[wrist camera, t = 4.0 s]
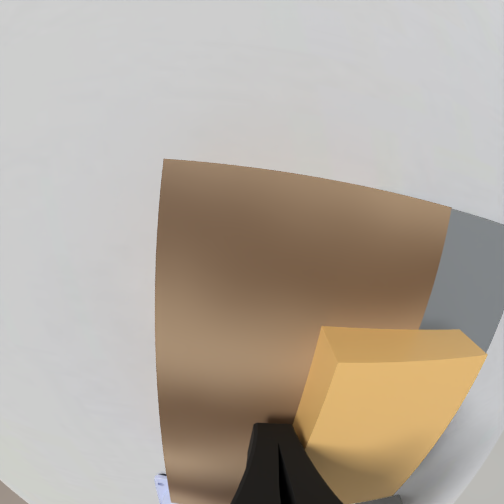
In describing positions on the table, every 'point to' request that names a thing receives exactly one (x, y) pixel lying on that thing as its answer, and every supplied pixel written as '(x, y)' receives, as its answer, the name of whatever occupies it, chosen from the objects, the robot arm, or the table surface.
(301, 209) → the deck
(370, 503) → the dice cube
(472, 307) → the mat
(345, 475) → the yellow orange block
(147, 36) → the table surface
